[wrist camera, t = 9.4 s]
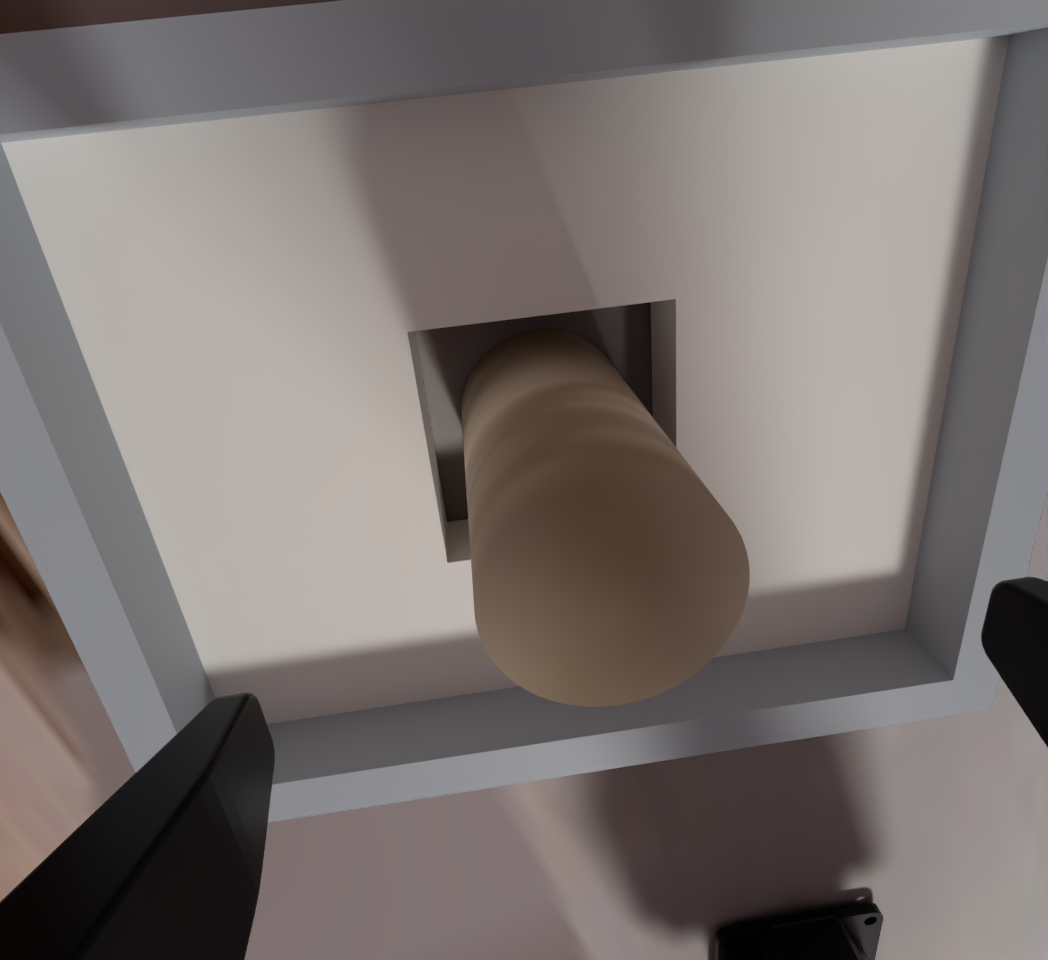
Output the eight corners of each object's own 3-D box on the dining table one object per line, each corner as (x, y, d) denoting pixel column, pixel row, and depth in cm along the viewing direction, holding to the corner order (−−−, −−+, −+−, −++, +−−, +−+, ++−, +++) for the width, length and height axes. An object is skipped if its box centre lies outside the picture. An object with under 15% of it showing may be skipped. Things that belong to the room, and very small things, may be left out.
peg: (619, 319, 16) (756, 454, 9) (625, 472, 18) (744, 686, 11) (450, 340, 16) (455, 494, 9) (472, 493, 18) (490, 724, 11)
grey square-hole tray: (898, 613, 21) (990, 709, 18) (216, 714, 20) (167, 838, 17) (1006, -26, 14) (1198, -85, 11) (-32, 79, 13) (-210, 54, 10)
